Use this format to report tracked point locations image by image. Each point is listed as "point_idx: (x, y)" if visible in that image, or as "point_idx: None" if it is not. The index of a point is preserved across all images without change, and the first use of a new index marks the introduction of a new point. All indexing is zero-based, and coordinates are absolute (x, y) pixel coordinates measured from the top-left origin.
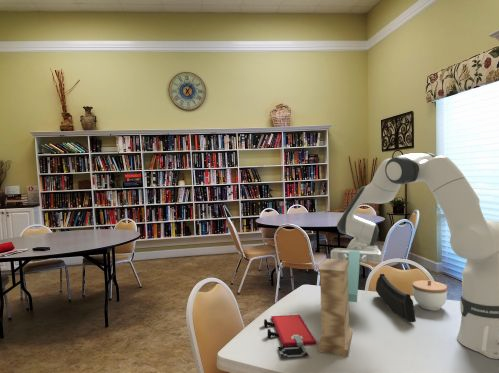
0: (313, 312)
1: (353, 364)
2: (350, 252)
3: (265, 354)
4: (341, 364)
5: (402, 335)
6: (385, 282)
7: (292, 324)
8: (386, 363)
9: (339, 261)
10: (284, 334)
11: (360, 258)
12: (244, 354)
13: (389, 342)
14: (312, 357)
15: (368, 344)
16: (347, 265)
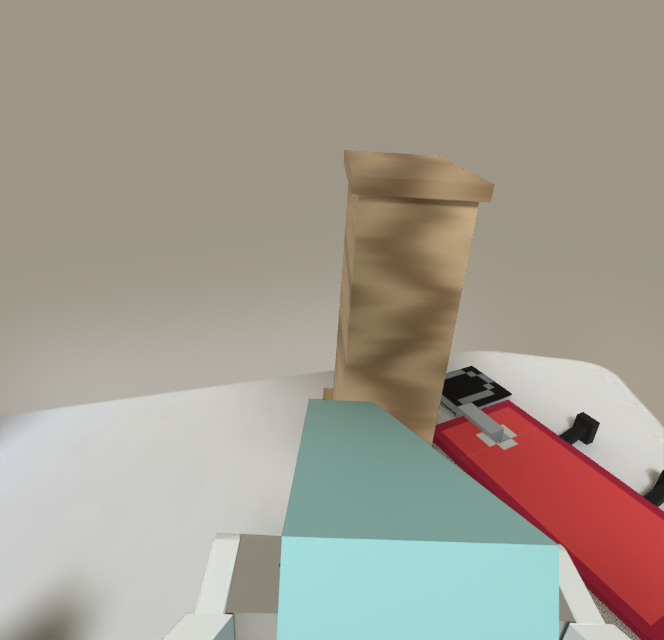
0: None
1: (307, 383)
2: (499, 524)
3: (519, 379)
4: None
5: (89, 563)
6: None
7: (583, 515)
8: (223, 398)
9: (396, 171)
10: (544, 440)
11: (267, 537)
12: (560, 372)
13: (177, 493)
14: None
15: (261, 465)
16: (348, 171)
